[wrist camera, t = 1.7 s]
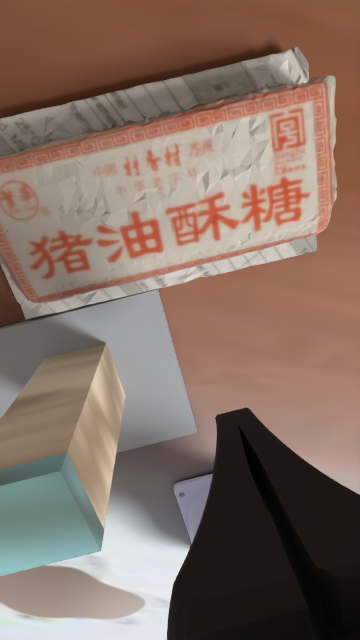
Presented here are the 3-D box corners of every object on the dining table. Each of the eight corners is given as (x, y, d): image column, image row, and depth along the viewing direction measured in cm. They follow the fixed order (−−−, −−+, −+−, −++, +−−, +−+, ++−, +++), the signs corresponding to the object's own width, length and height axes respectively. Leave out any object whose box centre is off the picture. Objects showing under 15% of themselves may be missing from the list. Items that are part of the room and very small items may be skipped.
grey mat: (196, 427, 23) (197, 432, 22) (-89, 499, 23) (-95, 506, 22) (157, 286, 19) (157, 289, 18) (-185, 375, 19) (-195, 380, 19)
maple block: (125, 395, 21) (100, 551, 11) (67, 410, 21) (-4, 577, 11) (106, 342, 19) (60, 470, 10) (44, 358, 19) (-60, 501, 10)
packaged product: (352, -4, 11) (356, 261, 15) (296, 56, 16) (309, 248, 19) (-122, 110, 11) (-6, 347, 15) (-43, 138, 16) (31, 314, 19)
